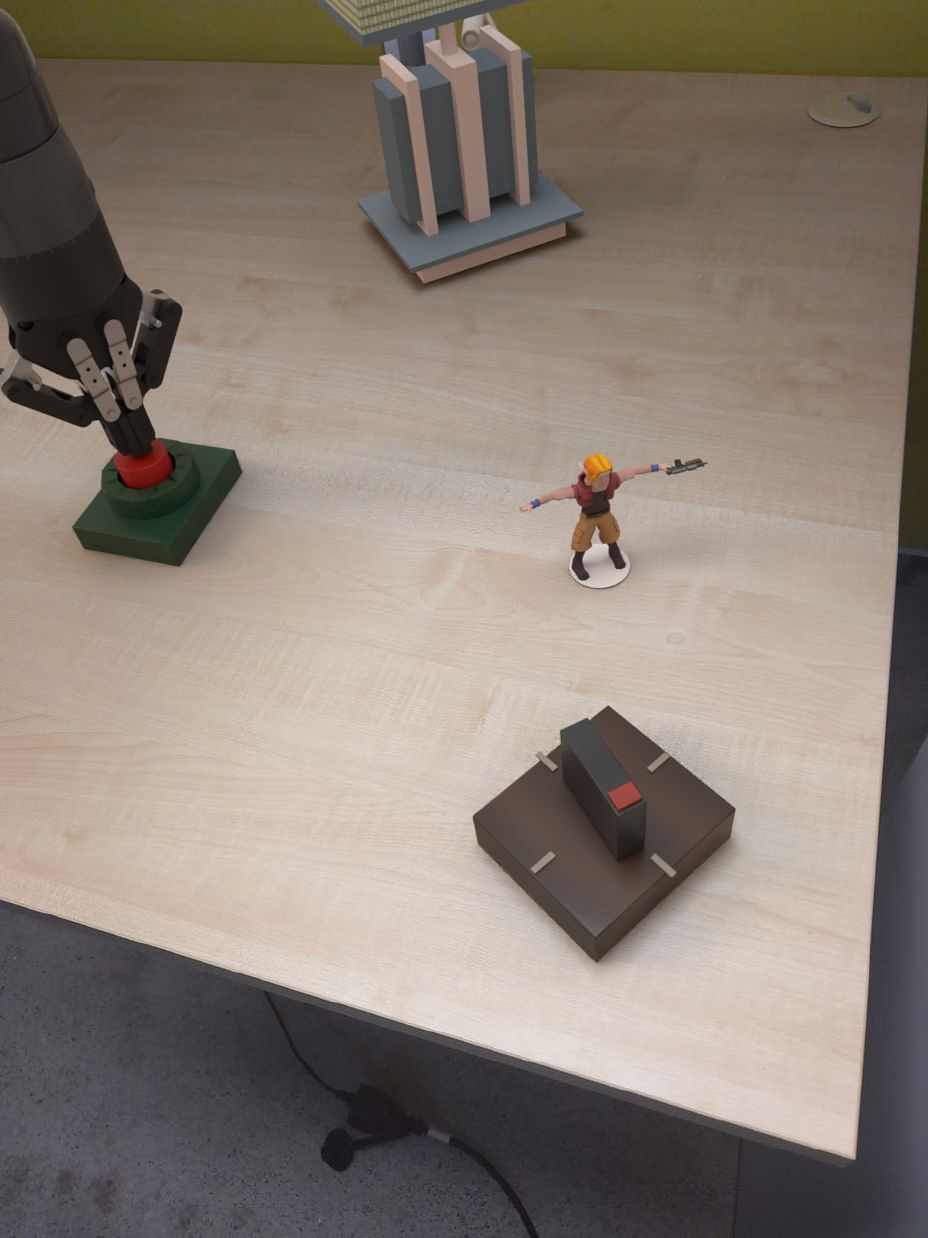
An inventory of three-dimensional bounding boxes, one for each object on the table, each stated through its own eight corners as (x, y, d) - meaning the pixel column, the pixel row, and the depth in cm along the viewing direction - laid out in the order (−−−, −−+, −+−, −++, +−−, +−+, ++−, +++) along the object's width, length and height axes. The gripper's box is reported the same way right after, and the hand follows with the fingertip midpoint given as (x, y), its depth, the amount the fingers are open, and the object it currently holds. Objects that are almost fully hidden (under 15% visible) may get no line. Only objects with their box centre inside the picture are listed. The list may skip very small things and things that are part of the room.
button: (157, 492, 71) (148, 474, 70) (113, 485, 72) (104, 466, 71) (182, 458, 73) (174, 439, 72) (139, 452, 74) (130, 433, 73)
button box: (179, 566, 71) (160, 526, 68) (83, 548, 74) (60, 508, 71) (242, 471, 77) (227, 430, 74) (152, 457, 80) (133, 416, 76)
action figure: (685, 518, 69) (694, 408, 62) (705, 547, 67) (716, 436, 60) (518, 570, 68) (507, 463, 61) (533, 600, 66) (524, 493, 59)
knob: (562, 777, 54) (558, 727, 50) (588, 764, 54) (587, 713, 51) (617, 862, 50) (618, 814, 47) (645, 847, 51) (647, 799, 47)
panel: (601, 968, 50) (600, 943, 48) (473, 839, 55) (466, 810, 53) (736, 841, 54) (742, 811, 51) (603, 730, 59) (603, 698, 57)
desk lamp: (524, 171, 102) (497, -249, 77) (591, 233, 93) (585, -219, 69) (353, 226, 99) (268, -195, 74) (407, 296, 90) (330, -156, 65)
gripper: (104, 151, 62) (191, 383, 76) (-103, 242, 58) (29, 472, 71) (164, 190, 58) (245, 427, 72) (-54, 291, 54) (77, 525, 67)
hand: (137, 449), depth 71 cm, fingers closed
